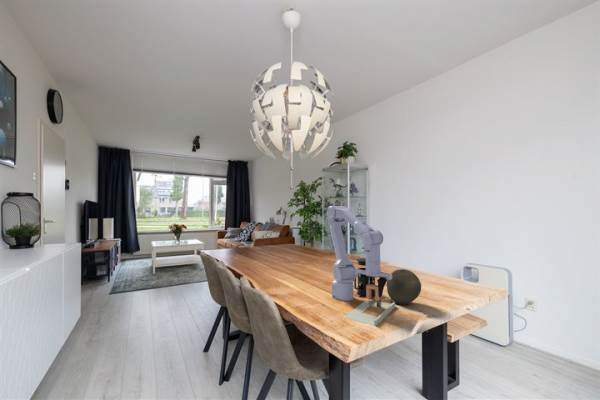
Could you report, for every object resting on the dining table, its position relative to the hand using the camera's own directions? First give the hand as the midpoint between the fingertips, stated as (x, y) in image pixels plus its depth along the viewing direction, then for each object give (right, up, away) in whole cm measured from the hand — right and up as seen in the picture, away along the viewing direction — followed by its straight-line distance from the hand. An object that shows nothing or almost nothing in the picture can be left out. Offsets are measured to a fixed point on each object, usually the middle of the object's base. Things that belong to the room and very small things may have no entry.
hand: (373, 295), depth 108 cm
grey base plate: (-1, -8, 0) cm, 8 cm away
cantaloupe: (+16, -8, +11) cm, 22 cm away
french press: (+3, -9, +25) cm, 27 cm away
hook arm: (+1, -8, +1) cm, 8 cm away
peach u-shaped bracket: (0, -2, 0) cm, 2 cm away
